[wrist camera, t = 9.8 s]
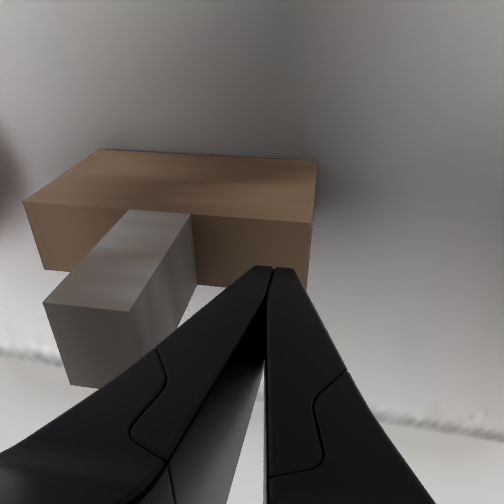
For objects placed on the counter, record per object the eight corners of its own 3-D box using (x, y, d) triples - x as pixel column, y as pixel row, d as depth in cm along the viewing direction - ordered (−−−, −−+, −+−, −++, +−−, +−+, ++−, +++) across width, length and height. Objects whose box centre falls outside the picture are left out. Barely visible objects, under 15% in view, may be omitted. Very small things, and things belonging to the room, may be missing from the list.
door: (317, 161, 13) (301, 330, 6) (312, 220, 14) (294, 415, 7) (99, 149, 14) (-102, 285, 7) (110, 205, 15) (-57, 366, 8)
